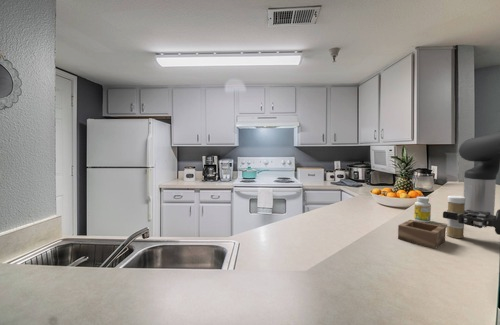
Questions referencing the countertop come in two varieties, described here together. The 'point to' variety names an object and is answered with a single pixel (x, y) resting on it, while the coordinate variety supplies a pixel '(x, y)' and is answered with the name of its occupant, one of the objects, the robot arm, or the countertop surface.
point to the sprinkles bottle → (455, 206)
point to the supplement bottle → (422, 210)
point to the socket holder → (422, 233)
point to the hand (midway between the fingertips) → (445, 213)
